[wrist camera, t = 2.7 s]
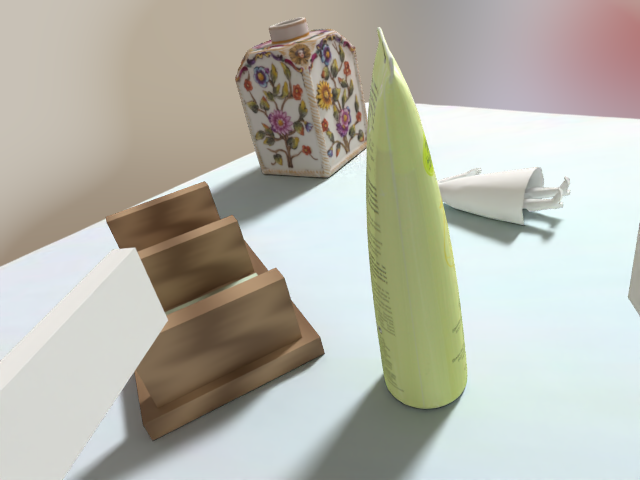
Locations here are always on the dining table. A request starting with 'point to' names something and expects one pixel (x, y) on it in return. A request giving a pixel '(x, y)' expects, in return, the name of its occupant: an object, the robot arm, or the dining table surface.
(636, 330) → the dining table surface
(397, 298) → the tube
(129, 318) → the robot arm
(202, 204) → the wooden letter rack
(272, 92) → the decorative jar
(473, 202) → the woman figurine
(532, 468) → the dining table surface
